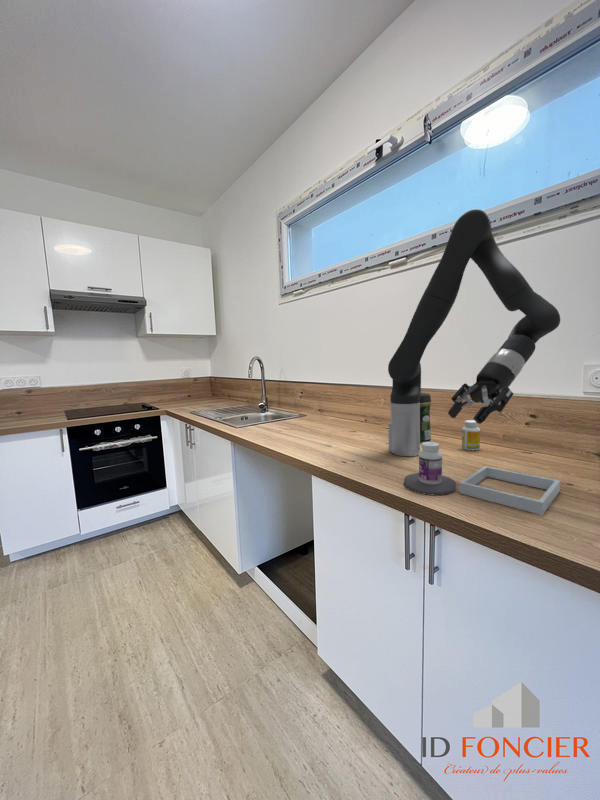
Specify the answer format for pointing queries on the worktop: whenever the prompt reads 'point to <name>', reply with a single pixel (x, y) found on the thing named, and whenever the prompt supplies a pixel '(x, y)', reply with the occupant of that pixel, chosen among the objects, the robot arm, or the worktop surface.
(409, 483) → the charcoal mat
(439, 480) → the pill bottle
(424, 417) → the coffee jar
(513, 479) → the grey tray
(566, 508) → the worktop surface
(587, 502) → the worktop surface
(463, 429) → the supplement bottle
